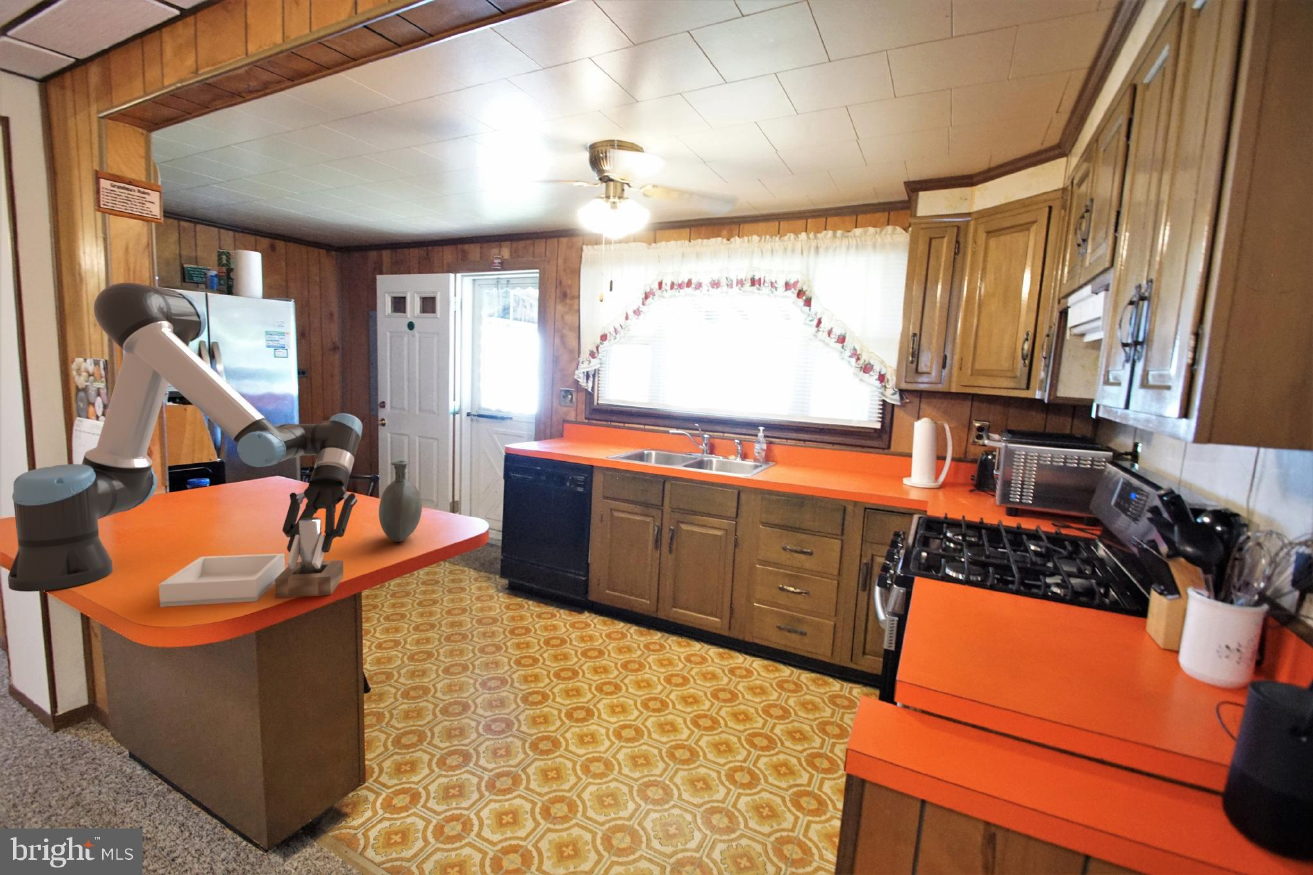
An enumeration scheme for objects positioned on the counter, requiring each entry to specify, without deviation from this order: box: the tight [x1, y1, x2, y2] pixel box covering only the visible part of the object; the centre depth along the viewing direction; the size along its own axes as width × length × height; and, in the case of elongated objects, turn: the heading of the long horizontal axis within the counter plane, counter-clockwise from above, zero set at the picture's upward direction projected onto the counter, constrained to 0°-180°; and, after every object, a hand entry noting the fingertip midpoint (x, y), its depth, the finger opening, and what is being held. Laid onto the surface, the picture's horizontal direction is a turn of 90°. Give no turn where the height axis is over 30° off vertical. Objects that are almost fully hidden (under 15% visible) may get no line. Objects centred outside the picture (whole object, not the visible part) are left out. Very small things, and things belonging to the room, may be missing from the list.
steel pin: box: [299, 516, 322, 574], centre depth 119 cm, size 4×4×14 cm
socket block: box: [274, 560, 344, 599], centre depth 120 cm, size 10×10×4 cm
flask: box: [378, 460, 423, 543], centre depth 153 cm, size 12×17×22 cm
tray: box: [158, 553, 286, 608], centre depth 117 cm, size 16×16×4 cm
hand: (303, 565), depth 116 cm, fingers closed on steel pin, 4 cm apart
